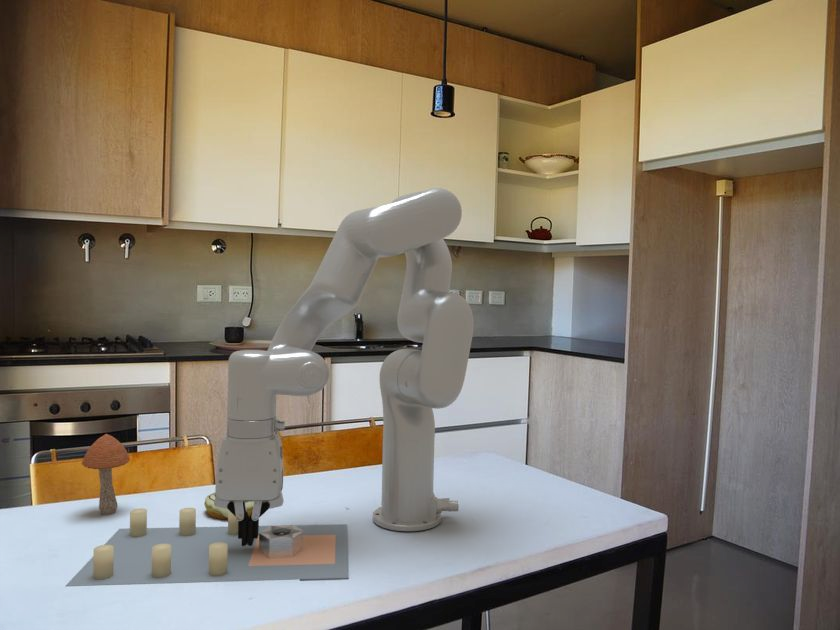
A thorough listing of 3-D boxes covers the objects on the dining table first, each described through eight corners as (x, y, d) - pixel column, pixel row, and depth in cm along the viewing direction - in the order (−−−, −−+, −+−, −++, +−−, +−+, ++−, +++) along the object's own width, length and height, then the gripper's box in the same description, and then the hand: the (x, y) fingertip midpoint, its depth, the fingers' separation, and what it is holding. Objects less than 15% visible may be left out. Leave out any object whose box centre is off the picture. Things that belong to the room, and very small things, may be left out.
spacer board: (347, 525, 116) (347, 502, 116) (348, 578, 94) (348, 550, 94) (119, 529, 111) (119, 505, 111) (65, 587, 89) (65, 557, 89)
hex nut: (303, 542, 107) (303, 523, 107) (303, 556, 101) (303, 537, 101) (260, 544, 106) (260, 525, 106) (257, 559, 100) (258, 539, 100)
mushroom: (81, 524, 113) (81, 439, 113) (81, 510, 120) (82, 430, 120) (130, 518, 117) (131, 436, 116) (128, 505, 124) (128, 427, 123)
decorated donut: (230, 528, 114) (230, 507, 114) (192, 514, 120) (192, 494, 120) (274, 512, 122) (275, 492, 122) (237, 500, 129) (238, 482, 128)
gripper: (300, 424, 107) (297, 533, 107) (207, 423, 105) (204, 534, 106) (297, 433, 99) (293, 551, 100) (197, 432, 98) (194, 552, 98)
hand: (248, 542), depth 103 cm, fingers closed
